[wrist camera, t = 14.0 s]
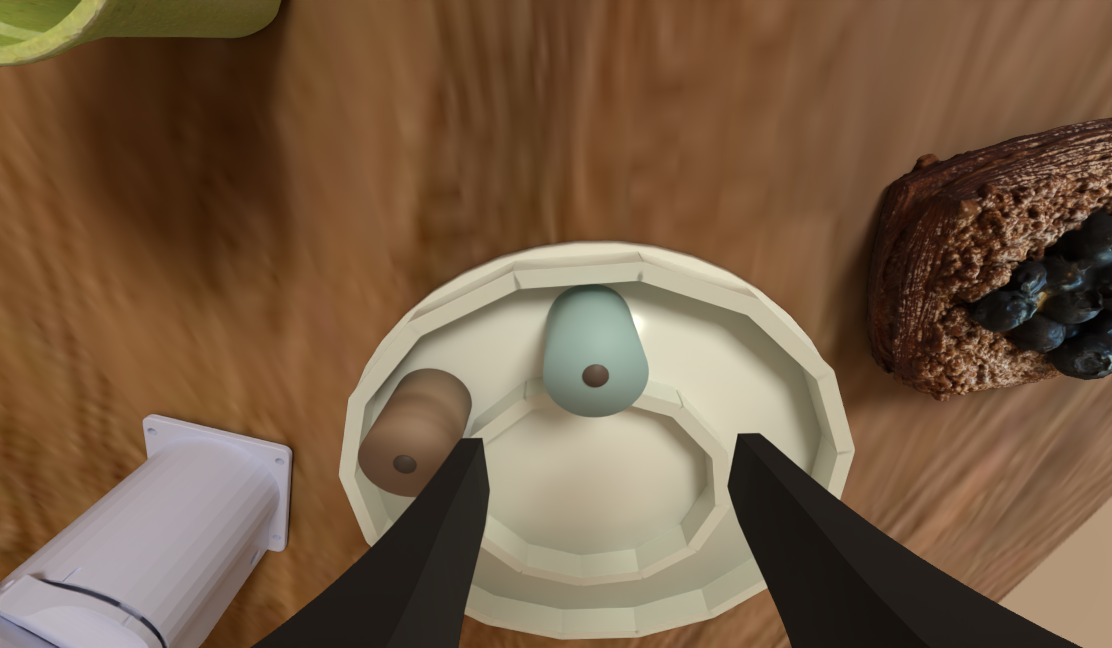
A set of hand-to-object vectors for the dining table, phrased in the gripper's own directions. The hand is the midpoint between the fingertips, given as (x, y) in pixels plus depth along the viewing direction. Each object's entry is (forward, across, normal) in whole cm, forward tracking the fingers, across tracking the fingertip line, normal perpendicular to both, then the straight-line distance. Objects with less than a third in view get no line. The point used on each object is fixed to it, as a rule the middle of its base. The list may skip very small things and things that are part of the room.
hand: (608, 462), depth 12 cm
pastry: (+10, -19, -2) cm, 21 cm away
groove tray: (+10, 0, +10) cm, 14 cm away
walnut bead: (+9, +8, +4) cm, 13 cm away
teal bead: (+9, 0, 0) cm, 9 cm away
